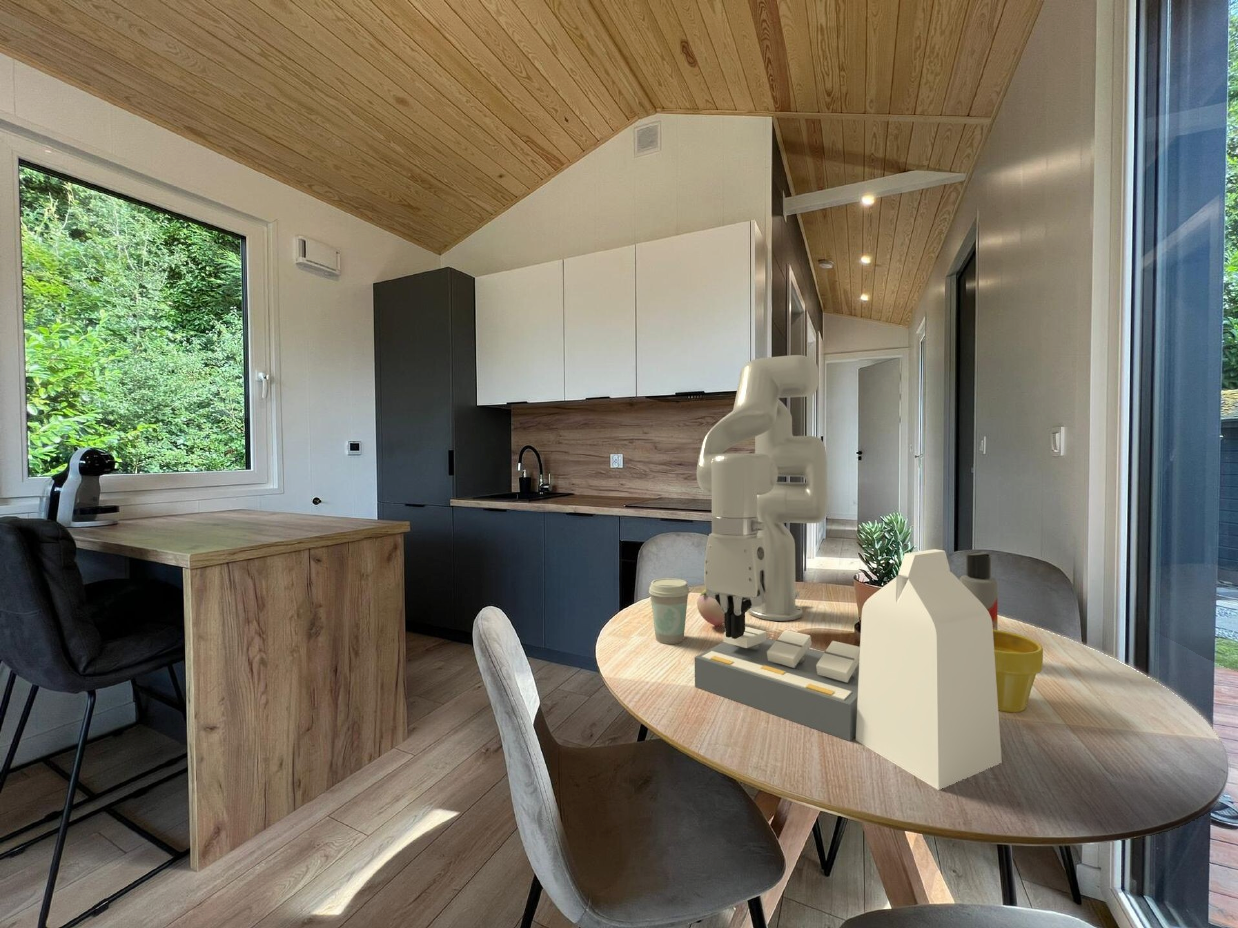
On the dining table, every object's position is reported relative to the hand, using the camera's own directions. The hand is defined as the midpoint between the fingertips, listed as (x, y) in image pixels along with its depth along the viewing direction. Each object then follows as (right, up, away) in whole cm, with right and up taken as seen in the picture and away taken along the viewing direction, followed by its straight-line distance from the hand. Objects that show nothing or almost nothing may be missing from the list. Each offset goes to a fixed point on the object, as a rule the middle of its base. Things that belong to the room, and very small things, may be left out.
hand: (734, 635), depth 87 cm
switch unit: (+8, -8, -3) cm, 12 cm away
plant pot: (+39, -8, -7) cm, 41 cm away
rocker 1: (+2, -1, +3) cm, 4 cm away
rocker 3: (+14, -1, -8) cm, 16 cm away
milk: (+20, -9, -20) cm, 30 cm away
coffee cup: (-9, -8, +22) cm, 25 cm away
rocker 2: (+8, -1, -3) cm, 9 cm away
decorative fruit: (+3, -8, +29) cm, 30 cm away
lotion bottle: (+47, -8, +9) cm, 48 cm away
